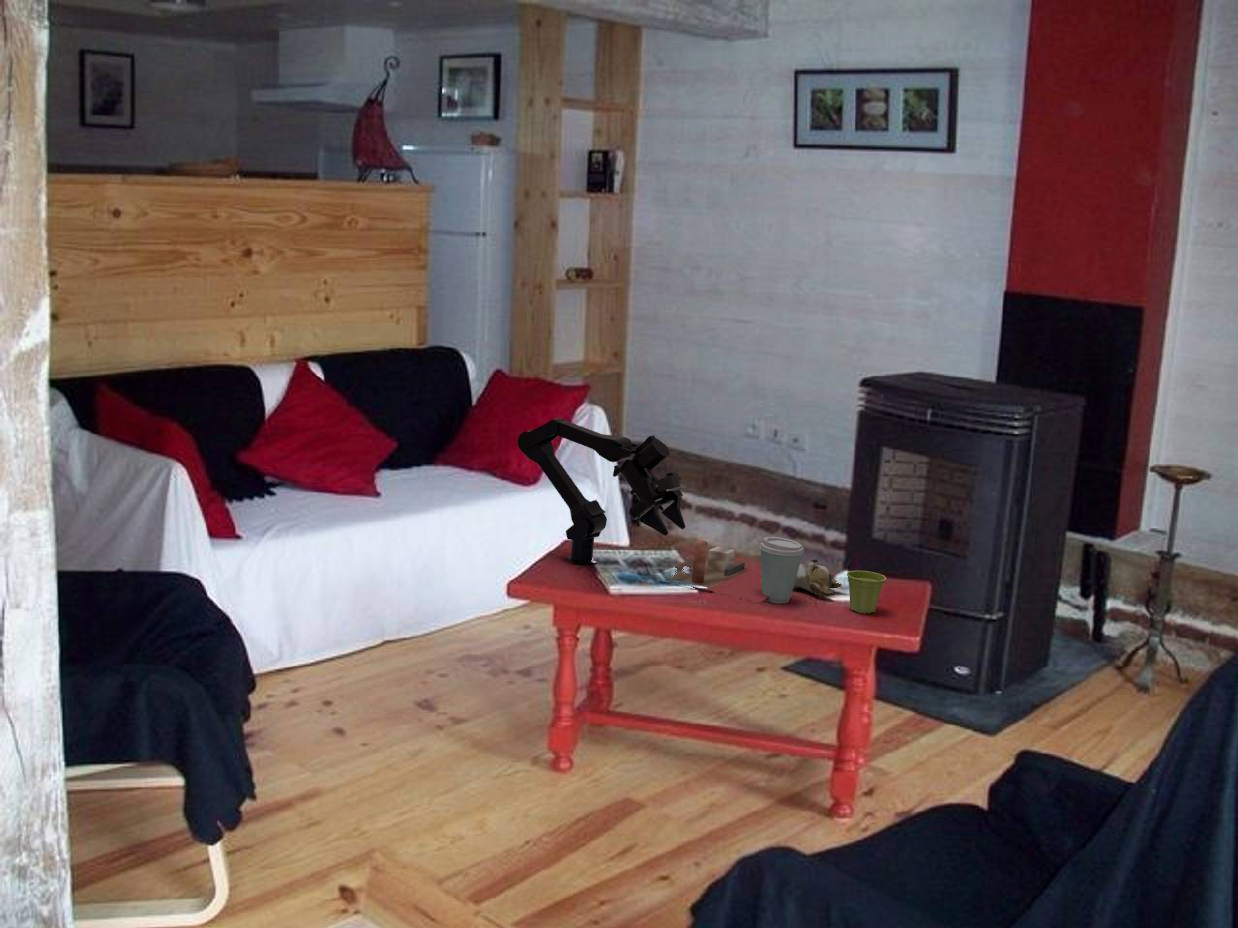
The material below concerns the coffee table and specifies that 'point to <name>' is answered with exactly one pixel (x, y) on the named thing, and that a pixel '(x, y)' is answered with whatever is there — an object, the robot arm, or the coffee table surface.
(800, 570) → the ceramic sculpture
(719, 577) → the wooden stand
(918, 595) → the coffee table surface
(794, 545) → the disposable coffee cup
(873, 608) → the plant pot
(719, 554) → the pale ash cube
